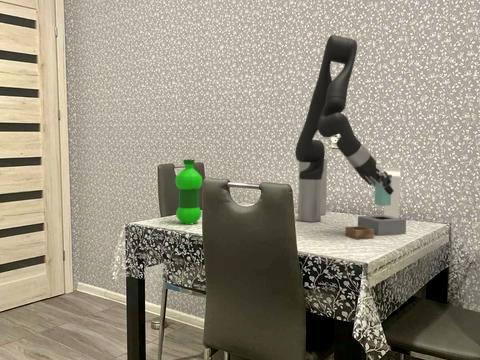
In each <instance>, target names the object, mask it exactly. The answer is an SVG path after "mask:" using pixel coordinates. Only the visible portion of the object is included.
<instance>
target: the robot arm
mask: <svg viewBox="0 0 480 360" xmlns="http://www.w3.org/2000/svg"><path fill="white" fill-rule="evenodd" d="M357 51H358V42H357V40H356V39H353V38H349V37H345V36H341V35H336V34H332V35H331V34H330V36H329V37H328V39H327V41H326V44H325V47H324V52H323V56H322V60H321V64H320V65H321V66H320V69H319V73H318V77H317V80H316V84H315V87H314V91H313V93H312V96H311V100H310V104H309V108H308V111H307V114H306V118H305V122H304V124H303V128H302V130H301V132H300V135H299V138H298V140H297V143H296V146H295V158H296V160H297V161H298V163H299V162H310V165H309V167H308V168H307V169H305V170H303V171H301V172H300V173H299V172H298V194H299V203H297V204H298V205H297V206H298V208H297V212H298V213H297V214H298V215H297V220H298V222H312V223H314V222H320V221H321V220H322V215H321V189H322V174H323V170H324V159H325V157H326V155H325V154H326V152H325V149H326V148H325V145H324V143H323V141H322V140H320V139H314V137H315V135H316V133H317V131H318V132H319V134H320V135H321V137H323V138H332V137H334V136H336V135H339V138H338V139H337V141H336V146H337V148H338V150H339V151H340V152H341V153H342V154H343V156H344V157H345V158H346V160H347V162H348V163H349V164H350V165H351V166H352V167H353V169H354V170H355V171H356V173H357V174H358V175H359V177H360V178H362V179H363V181H365V182H366V183H367V184H368V185H369V186H373V187H374V188H375V182H376V183H377V184H380V185H381V186H382V187H383V188H384V189H385V190H386V192H387V193H388V194H389V195H391V194H392V193H393V191H394V190H393V189H392V188H391V186H390V185H389V184H390V183H391V180H390V178H389V176H388V174H387V172H386V170H384V171H383V172H381V170H380V169H378V167H377V160H376V159H375V158H374V157H373V156H372V154H371V152H370V151H368V149H367V148H366V147H365V146H364V145H363V144H362V143H361V141H360V140H359V139H358V138H357V137H356V136H355V133H354V130H353V128H352V125H351V124H350V120H349V119H348V117H347V116H346V115H345V114H344V113H342V112H344V110H345V108H346V105H347V97H348V88H349V84H350V80H351V77H352V74H353V68H354V64H355V60H356V56H357ZM332 62H333V63H336V64H337V63H338V64H342V65H344V66H343V67H342V68H343V69H342V70H341V71H340V72H339V74H337V76H335V77H334V78H332V72H331V63H332ZM379 179H380V180H379ZM378 180H379V181H378ZM382 182H383V183H382Z"/></svg>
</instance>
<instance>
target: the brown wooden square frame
mask: <svg viewBox="0 0 480 360" xmlns="http://www.w3.org/2000/svg"><path fill="white" fill-rule="evenodd" d="M344 236H345V237H347V238H351V239H355V240H367V239H368V240H369V239H374V238H375V237H374V236H375V235H374V229H370V228H367V227H363V226H358V225H357V226H345V228H344Z"/></svg>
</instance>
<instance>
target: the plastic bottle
mask: <svg viewBox="0 0 480 360" xmlns="http://www.w3.org/2000/svg"><path fill="white" fill-rule="evenodd" d="M183 165H184V169H182V170H181V171H180V172H179V173H177V175H176V176H175V179H174V180H175V187H176V188H177V189H178V207H177V209H176V212H175V216H176V217H177V219H178V221H180V222H181V224H183V223H185V224H184V225H192V224H191V223H195V224H196V223H197V222H198V221H199V220H200V219H201V218H202V210H201V208H200V189H201V188H202V185H203V177H202V175H201V174H200V173H199V172H198V171H197V170H196V169H195V168H194V165H196V163H195V159H190V158H189V159H186V158H185V159H183Z"/></svg>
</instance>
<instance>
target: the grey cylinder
mask: <svg viewBox="0 0 480 360" xmlns="http://www.w3.org/2000/svg"><path fill="white" fill-rule="evenodd" d="M309 165H310V162H299V161H298V174H299V173H300V172H301V171H303V170H305V169H307V168H308V167H309ZM327 179H328V158H324V170H323V174H322V189H321V216H322V215H325V214H326V213H327V189H328V188H327V184H328V183H327ZM297 199H298V200H297V201H298V203H299V193H298V198H297ZM298 203H297V204H298Z"/></svg>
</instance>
